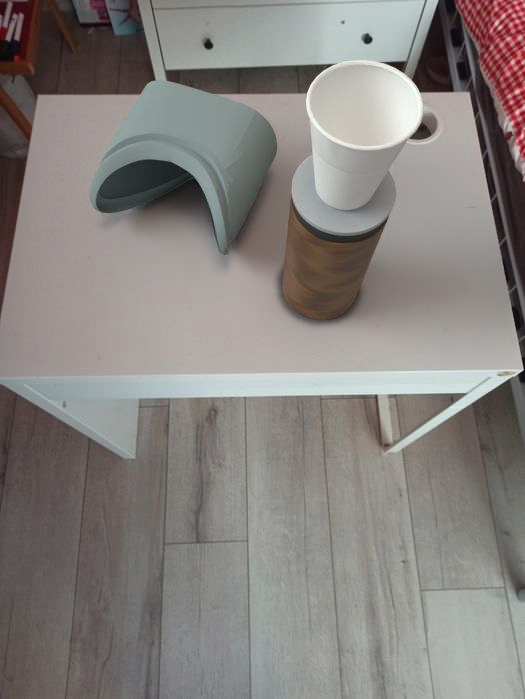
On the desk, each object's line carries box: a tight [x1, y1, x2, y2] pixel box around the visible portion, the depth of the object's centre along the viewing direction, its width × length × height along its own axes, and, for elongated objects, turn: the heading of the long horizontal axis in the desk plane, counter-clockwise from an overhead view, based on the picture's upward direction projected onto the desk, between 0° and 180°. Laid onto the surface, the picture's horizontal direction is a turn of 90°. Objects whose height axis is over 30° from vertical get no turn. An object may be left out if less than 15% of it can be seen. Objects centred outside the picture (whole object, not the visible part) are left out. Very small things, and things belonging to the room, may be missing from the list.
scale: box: [290, 153, 397, 243], centre depth 52 cm, size 11×11×2 cm
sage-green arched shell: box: [88, 79, 278, 256], centre depth 71 cm, size 22×19×13 cm
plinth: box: [282, 192, 391, 321], centre depth 63 cm, size 11×11×20 cm
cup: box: [305, 59, 425, 210], centre depth 46 cm, size 10×10×11 cm
